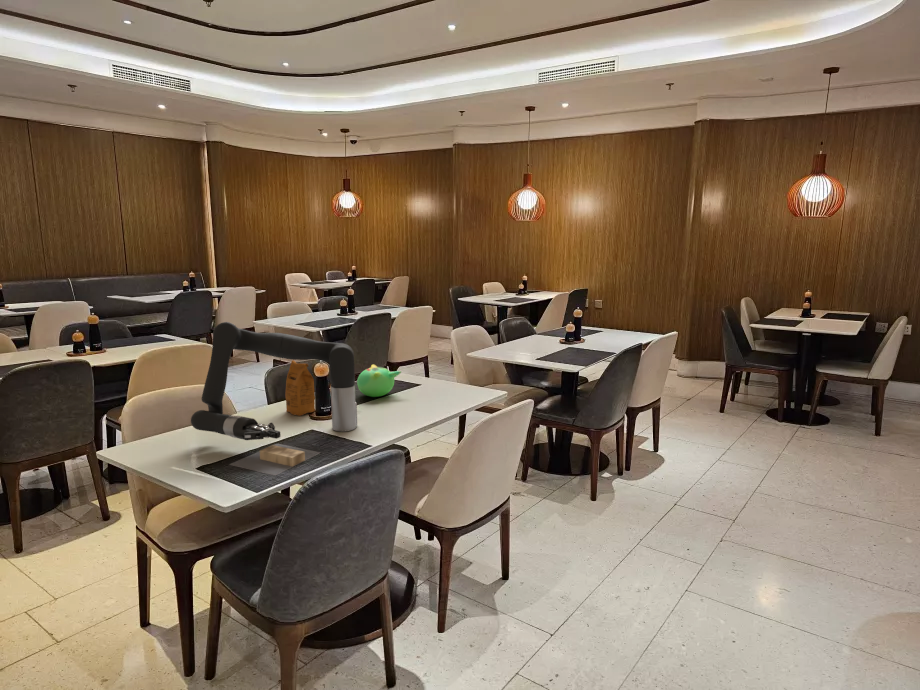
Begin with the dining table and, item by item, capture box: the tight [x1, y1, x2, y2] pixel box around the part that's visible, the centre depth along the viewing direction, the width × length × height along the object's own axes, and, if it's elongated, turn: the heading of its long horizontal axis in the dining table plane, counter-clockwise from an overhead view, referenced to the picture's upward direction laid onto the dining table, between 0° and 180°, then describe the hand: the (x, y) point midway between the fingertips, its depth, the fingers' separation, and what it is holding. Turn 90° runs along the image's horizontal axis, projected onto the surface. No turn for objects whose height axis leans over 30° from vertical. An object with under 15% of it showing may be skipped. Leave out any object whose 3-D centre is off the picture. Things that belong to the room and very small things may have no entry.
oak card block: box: [259, 444, 305, 467], centre depth 192 cm, size 6×3×14 cm
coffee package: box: [285, 360, 316, 417], centre depth 245 cm, size 10×12×22 cm
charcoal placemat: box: [228, 443, 322, 476], centre depth 193 cm, size 22×20×1 cm
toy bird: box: [356, 364, 402, 398], centre depth 271 cm, size 18×17×15 cm
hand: (278, 435), depth 191 cm, fingers closed
